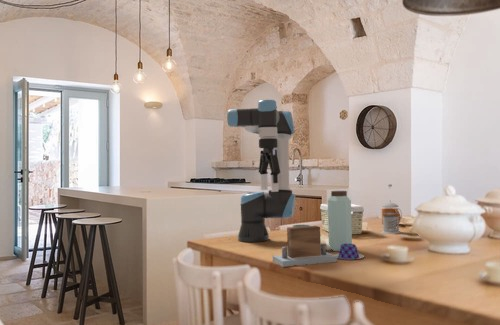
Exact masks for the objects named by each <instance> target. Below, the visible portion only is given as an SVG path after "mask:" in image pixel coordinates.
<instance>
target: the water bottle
mask: <svg viewBox="0 0 500 325" xmlns="http://www.w3.org/2000/svg"><path fill="white" fill-rule="evenodd" d="M347 192H348V191H347V190H333V191H331V194H330V197H329V198H328V199H327V204H328V228H329V232H328V246H329V245H330V247H329V249H330V250H331V249H332V250H333V251H334V252H339V251H340V247H341V245H342V244H353V238H352V237H353V234H352V227H351V204H352V200H351V199H350V197H348V195H347V194H348V193H347ZM332 250H331V251H332ZM333 251H332V252H333Z"/></svg>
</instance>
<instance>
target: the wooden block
mask: <svg viewBox="0 0 500 325" xmlns="http://www.w3.org/2000/svg"><path fill="white" fill-rule="evenodd" d="M286 230H287V231H286V240H287V241H286V242H287V246H286V247H287V254H288V257H290V258H299V257H310V256H321V244H322V242H321V227H320V226H319V225H310V226H302V227H293V226H289V227H286Z"/></svg>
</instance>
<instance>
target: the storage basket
mask: <svg viewBox="0 0 500 325" xmlns="http://www.w3.org/2000/svg"><path fill="white" fill-rule="evenodd" d="M319 209H320V213H321V214H320V215H321V227H322V230H323V231H324V232H327V233H329V228H328V203H321V204H320V207H319ZM364 209H365V208H364V205H358V204H353V203H351V227H352V235H361V234H362V232H363V231H362V230H363V216H364Z"/></svg>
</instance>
